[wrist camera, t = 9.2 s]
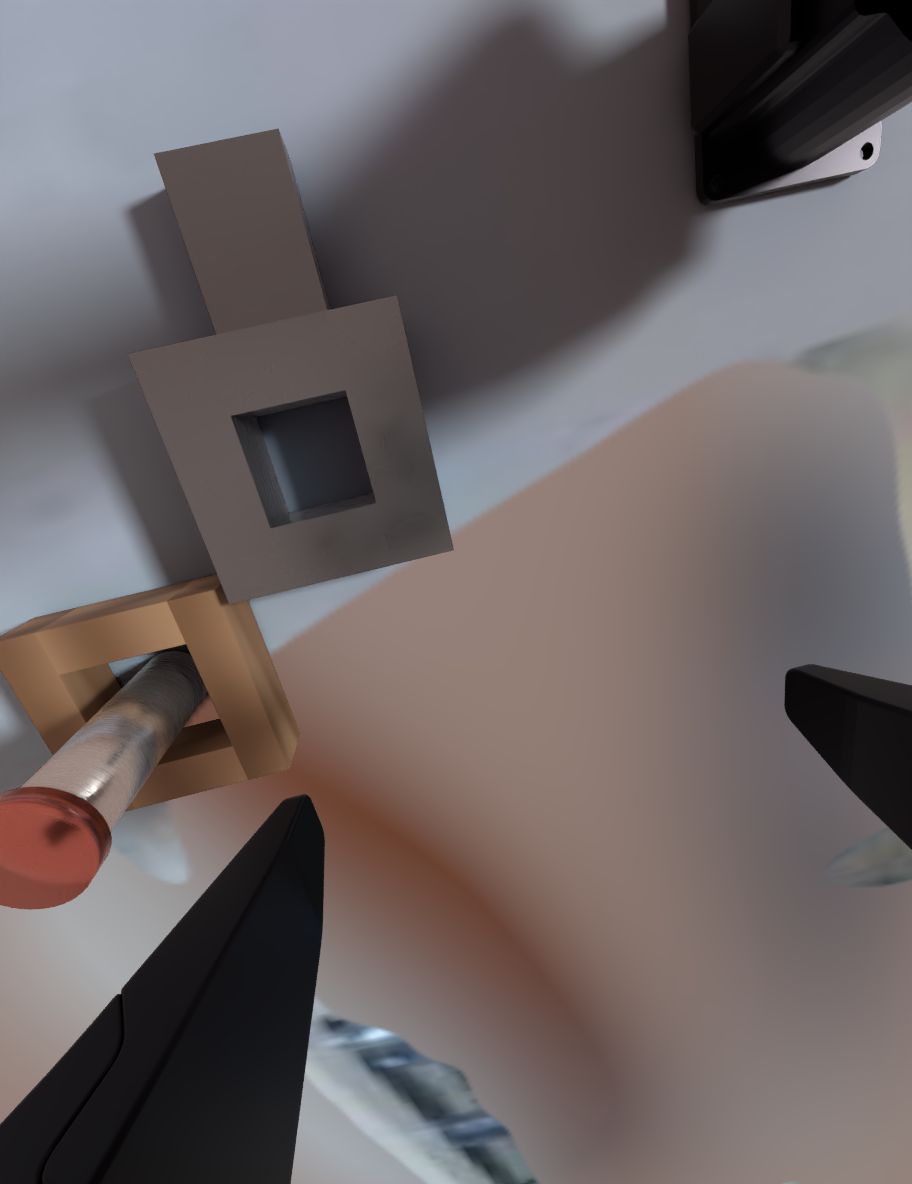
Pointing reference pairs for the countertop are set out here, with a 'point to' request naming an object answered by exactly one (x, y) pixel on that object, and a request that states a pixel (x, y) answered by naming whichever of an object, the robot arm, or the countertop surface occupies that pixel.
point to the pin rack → (147, 624)
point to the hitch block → (282, 384)
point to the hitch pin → (91, 786)
